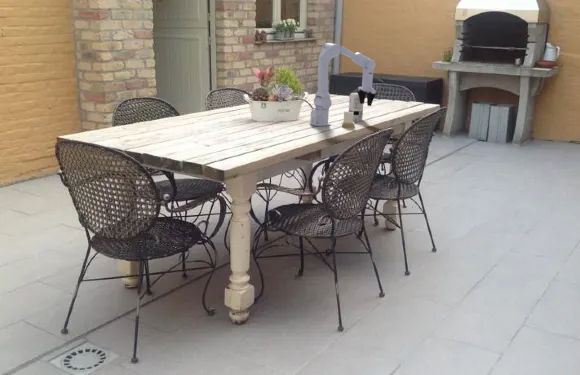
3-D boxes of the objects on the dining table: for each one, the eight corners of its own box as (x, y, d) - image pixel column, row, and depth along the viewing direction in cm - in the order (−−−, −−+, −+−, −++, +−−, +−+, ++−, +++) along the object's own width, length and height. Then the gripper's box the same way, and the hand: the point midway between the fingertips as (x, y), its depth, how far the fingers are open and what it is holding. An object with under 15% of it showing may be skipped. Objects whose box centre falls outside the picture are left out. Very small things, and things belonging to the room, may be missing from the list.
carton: (342, 124, 345) (343, 121, 345) (354, 125, 344) (354, 122, 344) (341, 127, 339) (342, 123, 338) (353, 127, 338) (353, 124, 337)
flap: (343, 122, 341) (343, 111, 339) (353, 123, 340) (354, 111, 339) (342, 123, 338) (343, 111, 337) (353, 124, 337) (353, 112, 336)
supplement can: (346, 119, 362) (347, 93, 358) (351, 117, 369) (353, 92, 365) (359, 121, 359) (360, 95, 355) (364, 119, 366) (366, 93, 362)
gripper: (380, 81, 344) (378, 106, 348) (366, 78, 357) (364, 102, 361) (369, 82, 341) (368, 106, 345) (355, 79, 354) (354, 102, 358)
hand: (365, 104), depth 353 cm, fingers open, 7 cm apart
